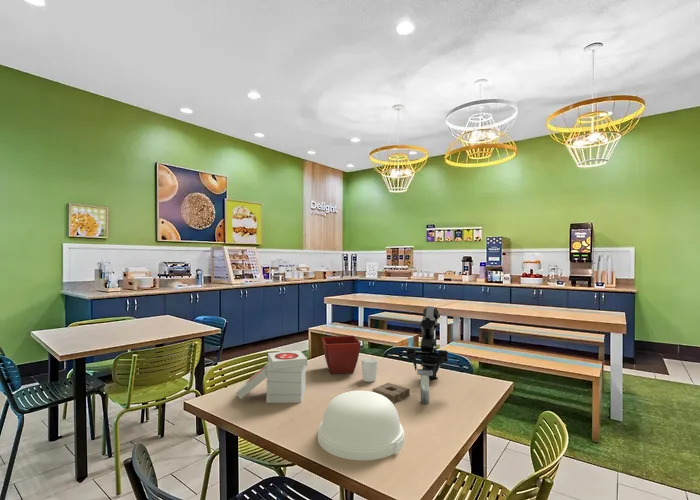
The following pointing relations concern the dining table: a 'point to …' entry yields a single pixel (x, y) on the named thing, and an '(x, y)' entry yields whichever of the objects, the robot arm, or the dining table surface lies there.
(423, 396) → the t key
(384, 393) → the socket block
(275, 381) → the pizza boxes
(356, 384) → the dining table surface
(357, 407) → the dome cover
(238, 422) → the dining table surface
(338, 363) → the plant pot
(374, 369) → the white cup
